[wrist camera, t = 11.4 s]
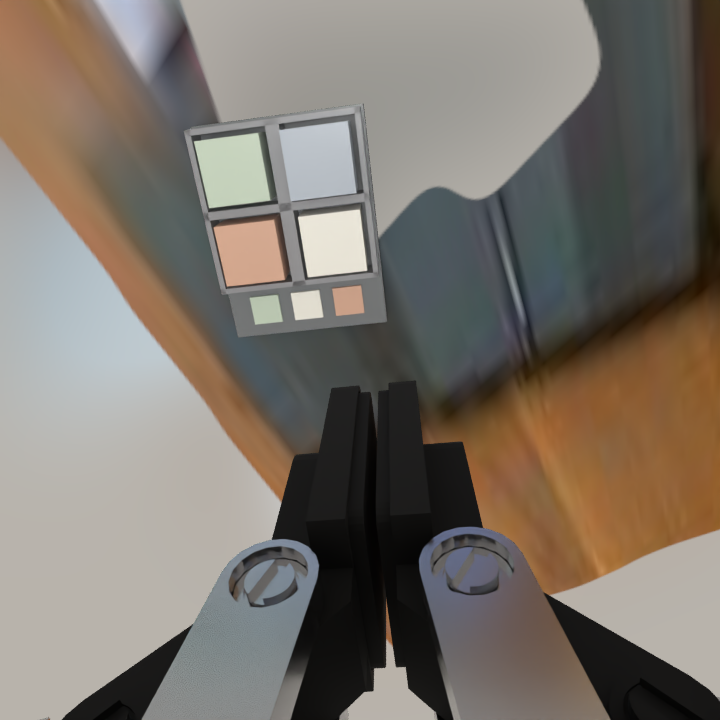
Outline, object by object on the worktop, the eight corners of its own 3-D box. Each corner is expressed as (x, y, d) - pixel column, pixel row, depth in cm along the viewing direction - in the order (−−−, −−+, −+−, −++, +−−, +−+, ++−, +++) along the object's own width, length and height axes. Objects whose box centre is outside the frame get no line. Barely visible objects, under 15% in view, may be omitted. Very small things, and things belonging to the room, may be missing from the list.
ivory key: (361, 203, 43) (359, 209, 40) (367, 261, 45) (367, 270, 42) (303, 210, 44) (297, 216, 41) (312, 267, 45) (307, 277, 43)
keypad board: (363, 103, 42) (362, 102, 38) (386, 315, 49) (387, 331, 45) (196, 126, 43) (180, 127, 39) (242, 331, 50) (231, 347, 46)
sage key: (266, 131, 41) (258, 132, 39) (277, 194, 43) (270, 200, 40) (206, 139, 42) (193, 141, 39) (219, 202, 44) (209, 208, 41)
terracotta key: (280, 213, 44) (273, 219, 41) (290, 270, 46) (285, 279, 43) (223, 220, 44) (213, 227, 41) (236, 276, 46) (226, 286, 43)
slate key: (349, 120, 39) (347, 121, 36) (358, 187, 41) (356, 193, 38) (285, 129, 39) (278, 130, 37) (296, 195, 41) (290, 201, 39)
